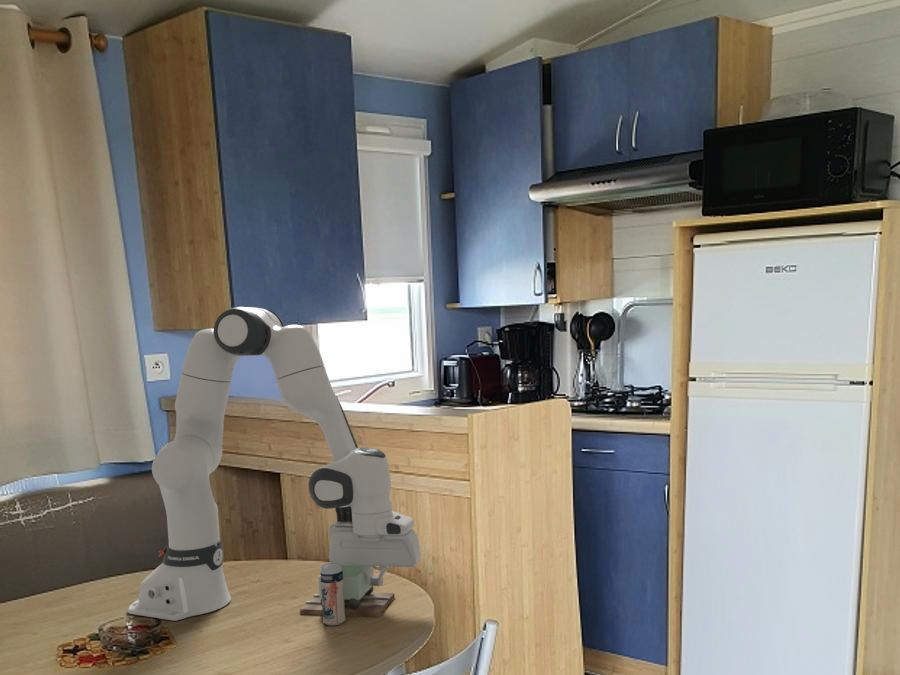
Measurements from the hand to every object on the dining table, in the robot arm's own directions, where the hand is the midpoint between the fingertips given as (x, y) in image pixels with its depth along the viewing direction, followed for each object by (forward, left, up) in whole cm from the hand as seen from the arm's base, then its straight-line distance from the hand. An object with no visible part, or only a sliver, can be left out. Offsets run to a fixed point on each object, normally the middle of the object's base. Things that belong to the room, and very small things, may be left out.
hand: (375, 584), depth 162 cm
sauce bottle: (-11, +11, -5) cm, 16 cm away
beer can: (-6, -9, -5) cm, 12 cm away
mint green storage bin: (-7, 0, -4) cm, 8 cm away
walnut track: (-7, 0, -5) cm, 8 cm away
